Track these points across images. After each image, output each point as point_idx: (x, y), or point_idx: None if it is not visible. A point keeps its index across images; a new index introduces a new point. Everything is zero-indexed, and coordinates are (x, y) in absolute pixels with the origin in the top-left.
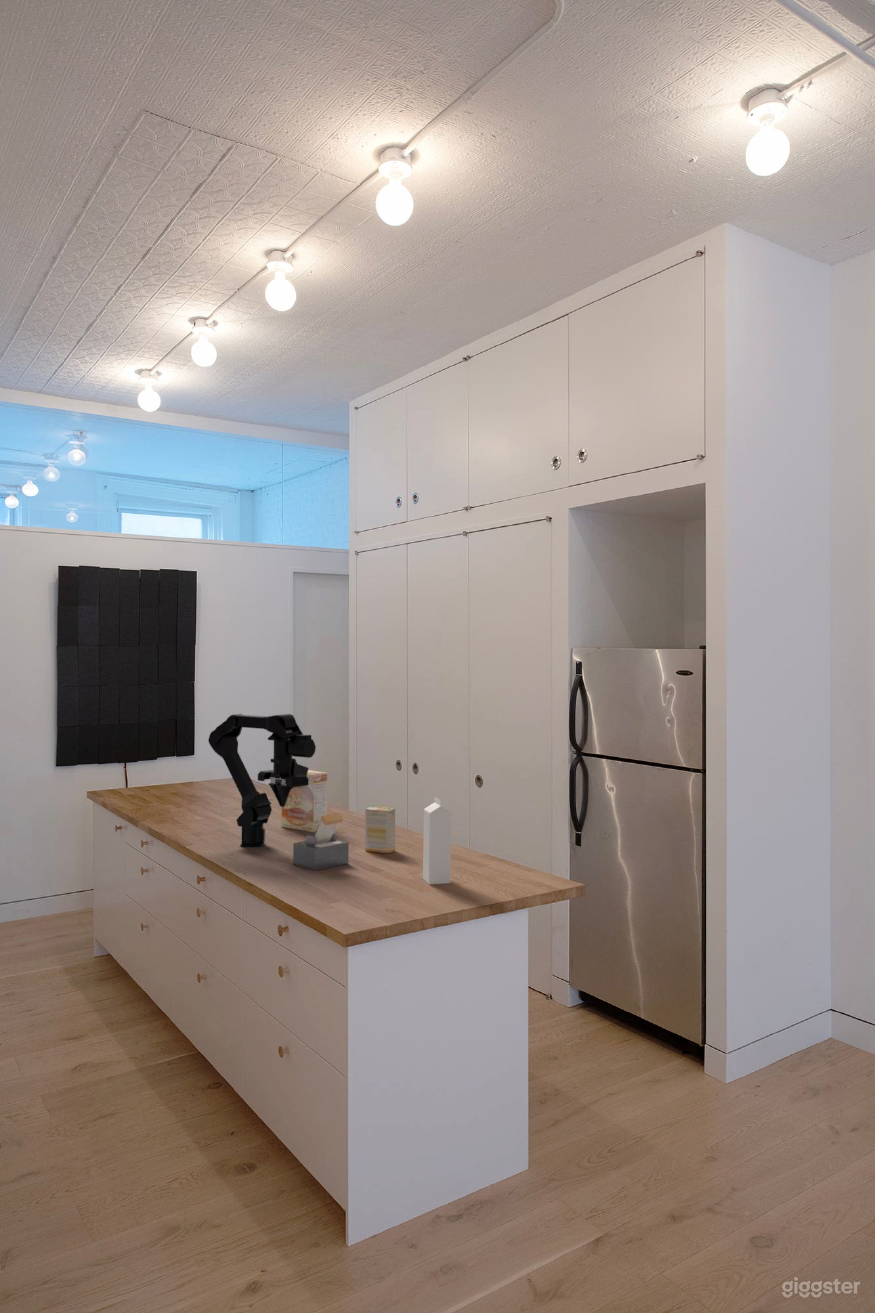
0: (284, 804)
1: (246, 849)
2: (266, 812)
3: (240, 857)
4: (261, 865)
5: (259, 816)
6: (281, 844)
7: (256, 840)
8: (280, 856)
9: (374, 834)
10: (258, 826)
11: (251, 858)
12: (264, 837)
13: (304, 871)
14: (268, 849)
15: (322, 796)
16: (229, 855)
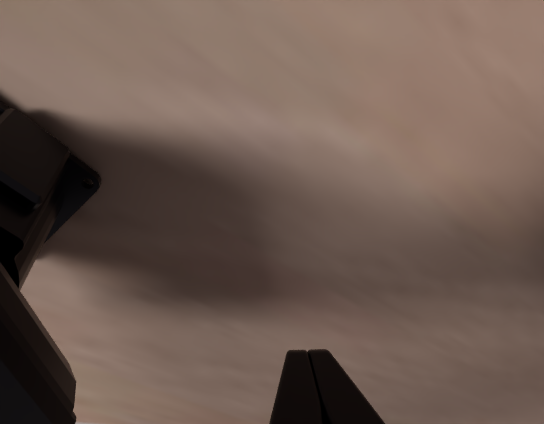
0: (342, 381)
1: (111, 265)
2: (10, 315)
3: (255, 356)
4: (444, 362)
5: (66, 370)
6: (117, 17)
7: (55, 208)
8: (398, 230)
9: None
10: (17, 260)
11: (311, 336)
12: (32, 146)
13: None
14: (201, 181)
15: None
16: (182, 369)
